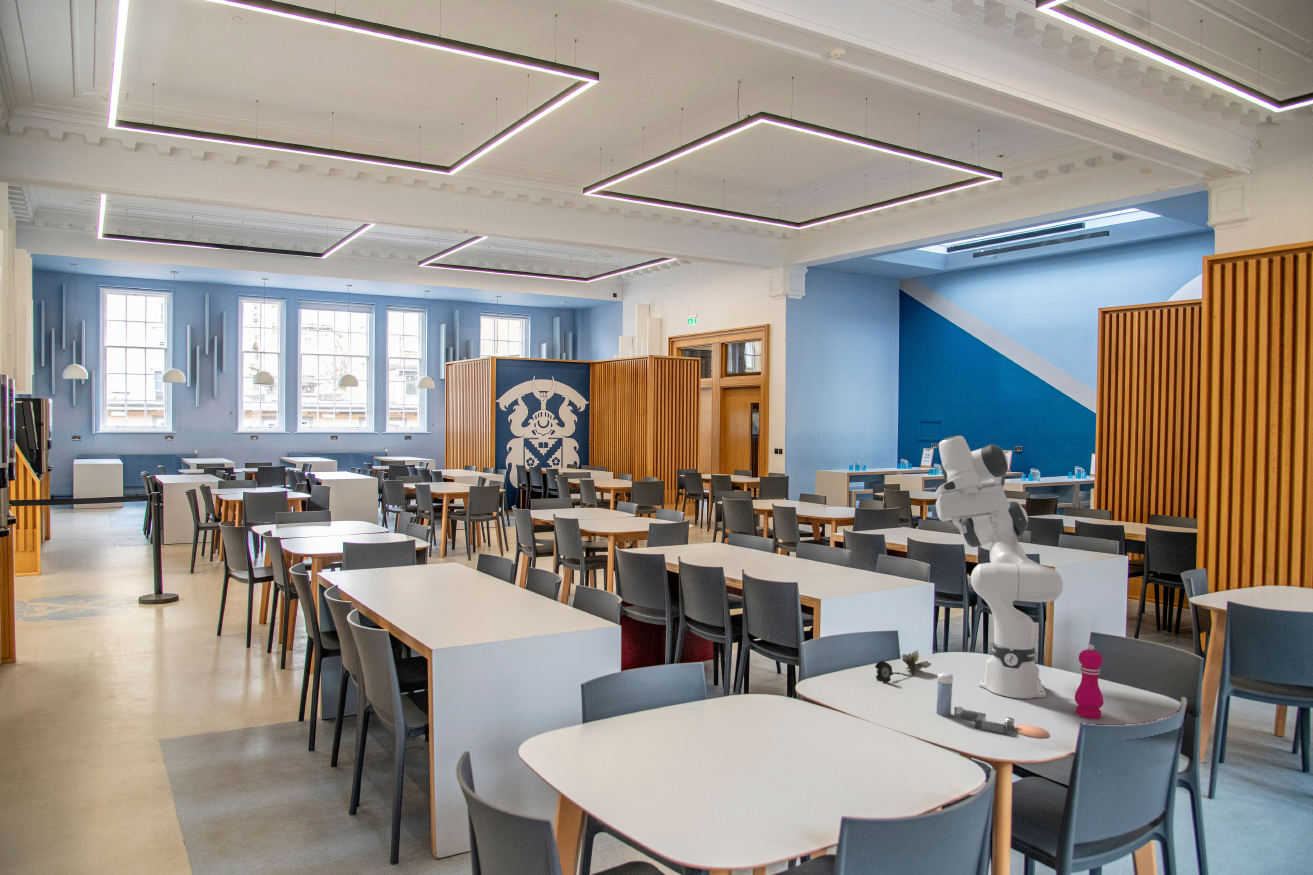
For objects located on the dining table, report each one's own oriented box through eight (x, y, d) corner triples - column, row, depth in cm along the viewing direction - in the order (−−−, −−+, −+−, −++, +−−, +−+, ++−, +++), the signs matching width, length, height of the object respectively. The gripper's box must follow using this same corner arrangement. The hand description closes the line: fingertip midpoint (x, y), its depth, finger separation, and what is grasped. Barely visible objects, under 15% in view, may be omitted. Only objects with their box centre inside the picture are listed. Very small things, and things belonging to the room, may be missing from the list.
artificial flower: (868, 682, 259) (866, 650, 261) (916, 681, 270) (913, 650, 273) (890, 682, 251) (887, 649, 254) (939, 681, 263) (935, 649, 266)
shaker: (937, 710, 231) (939, 671, 231) (952, 713, 229) (953, 673, 229) (934, 714, 227) (936, 674, 227) (949, 717, 225) (951, 677, 225)
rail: (954, 714, 228) (955, 705, 228) (1015, 726, 220) (1015, 717, 220) (949, 723, 221) (950, 714, 221) (1011, 735, 213) (1011, 726, 213)
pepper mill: (1106, 720, 226) (1109, 648, 226) (1078, 718, 228) (1081, 646, 228) (1098, 711, 234) (1100, 642, 233) (1070, 709, 235) (1073, 640, 235)
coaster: (1016, 724, 222) (1017, 722, 221) (1049, 730, 218) (1049, 729, 218) (1013, 733, 215) (1013, 731, 215) (1047, 740, 211) (1047, 738, 211)
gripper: (997, 485, 243) (1012, 529, 237) (929, 495, 243) (942, 538, 236) (1004, 477, 237) (1019, 521, 231) (934, 486, 237) (948, 531, 231)
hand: (980, 530), depth 234 cm, fingers open, 8 cm apart
